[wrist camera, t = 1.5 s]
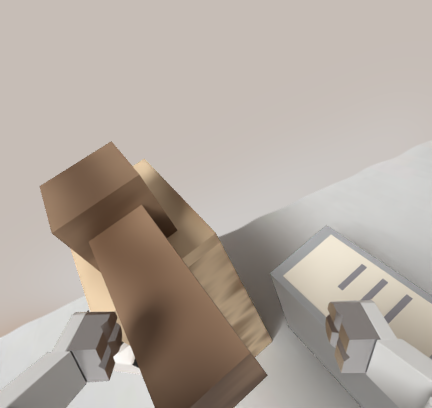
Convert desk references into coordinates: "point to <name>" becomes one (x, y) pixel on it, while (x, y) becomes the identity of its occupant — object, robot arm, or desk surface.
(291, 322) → the plinth
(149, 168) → the tall wooden pillar
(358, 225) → the desk surface
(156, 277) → the brown wooden bar
